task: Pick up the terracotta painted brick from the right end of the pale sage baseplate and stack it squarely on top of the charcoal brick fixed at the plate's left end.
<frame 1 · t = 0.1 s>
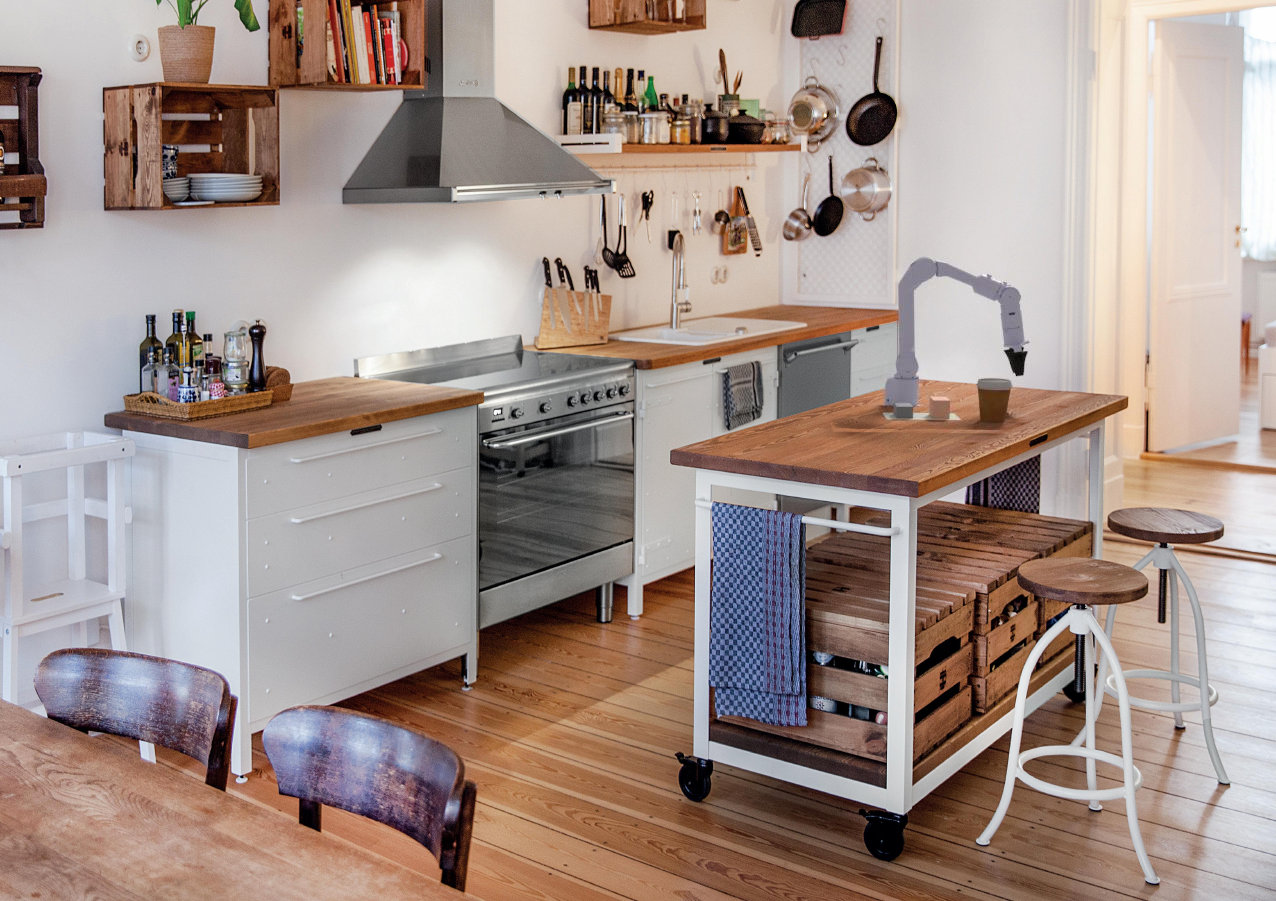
hand: (1018, 374, 363), 11 cm above the table, tool pointing down, fingers open, 7 cm apart
terracotta brick: (939, 416, 348), point 1 cm above the table, touching baseplate
baseplate: (920, 419, 348), on the table
charcoal brick: (903, 416, 348), resting on baseplate
disposable coffee cup: (992, 424, 341), on the table
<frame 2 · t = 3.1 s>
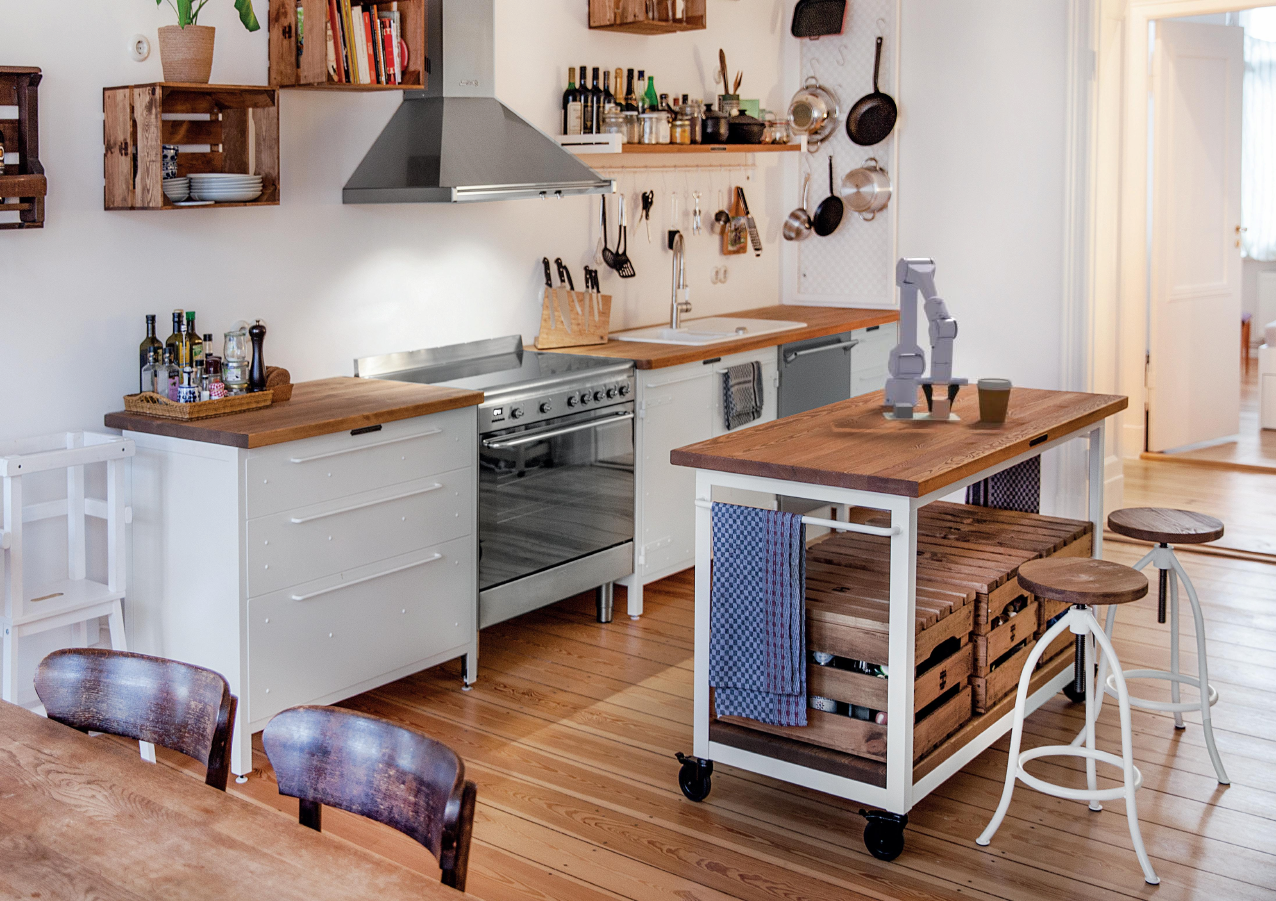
hand: (939, 411, 347), 2 cm above the table, tool pointing down, fingers closed on terracotta brick, 4 cm apart
terracotta brick: (939, 416, 348), point 1 cm above the table, touching baseplate, gripper
everything else where it was.
when the fingers open (7 cm above the table, at t = 5.8 s): terracotta brick drops 1 cm, resting on charcoal brick.
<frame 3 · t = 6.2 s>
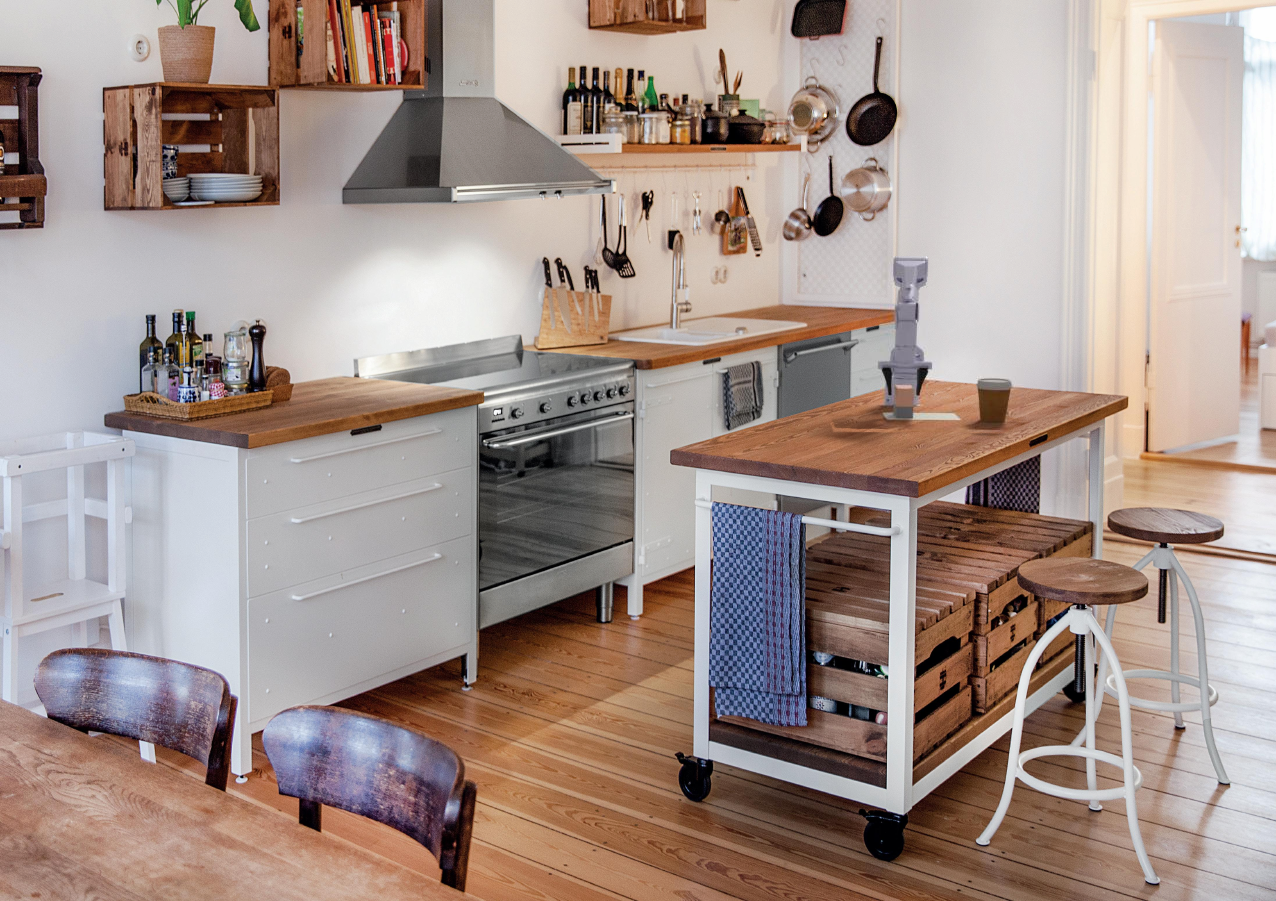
hand: (903, 395, 347), 7 cm above the table, tool pointing down, fingers open, 7 cm apart
terracotta brick: (903, 404, 348), point 4 cm above the table, touching charcoal brick
everything else where it was.
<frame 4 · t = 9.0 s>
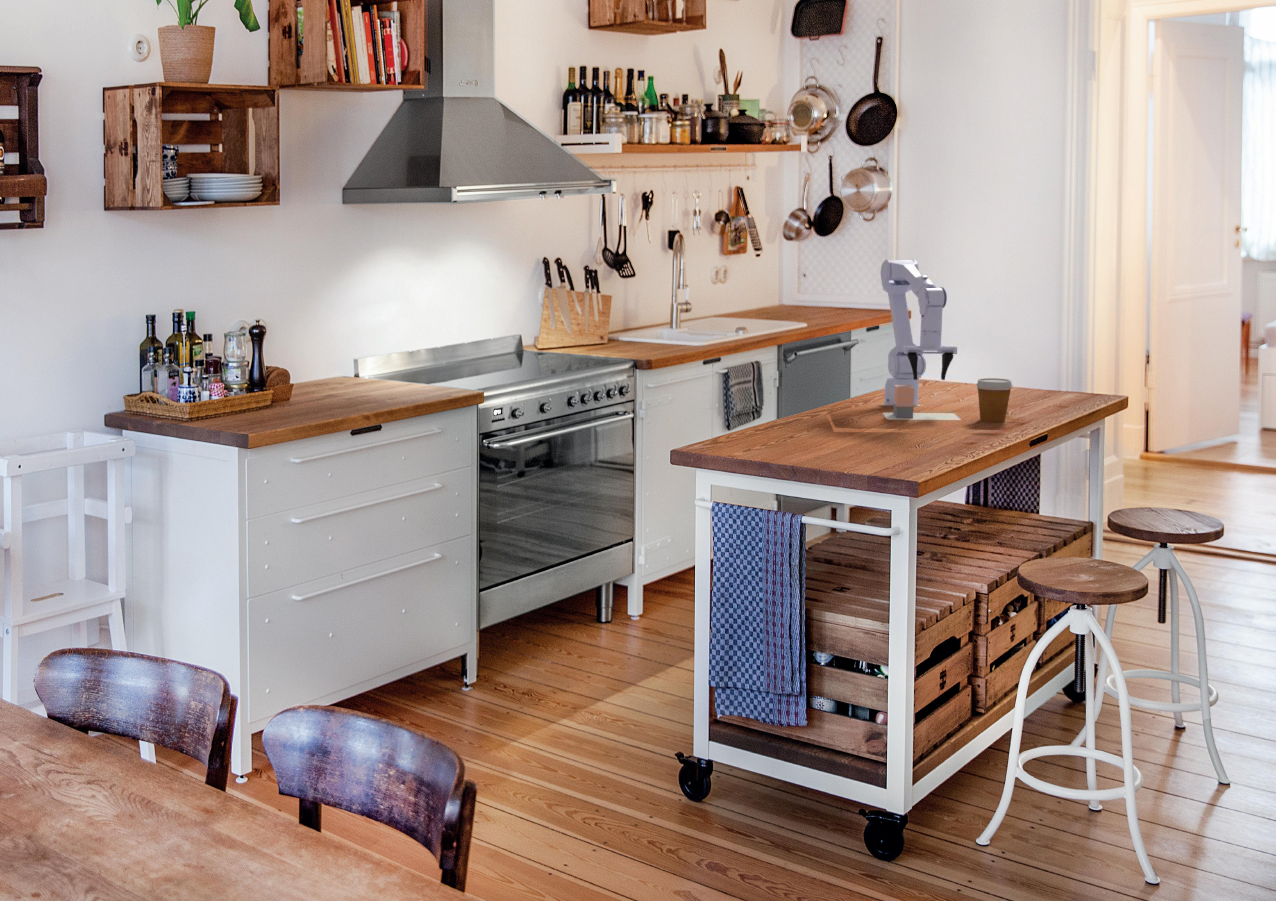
hand: (929, 379, 353), 10 cm above the table, tool pointing down, fingers open, 7 cm apart
nothing on the table moved.
at the end: terracotta brick 0.1 cm from the charcoal brick (horizontally); terracotta brick point 4.2 cm above the table; terracotta brick tilted 0° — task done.
